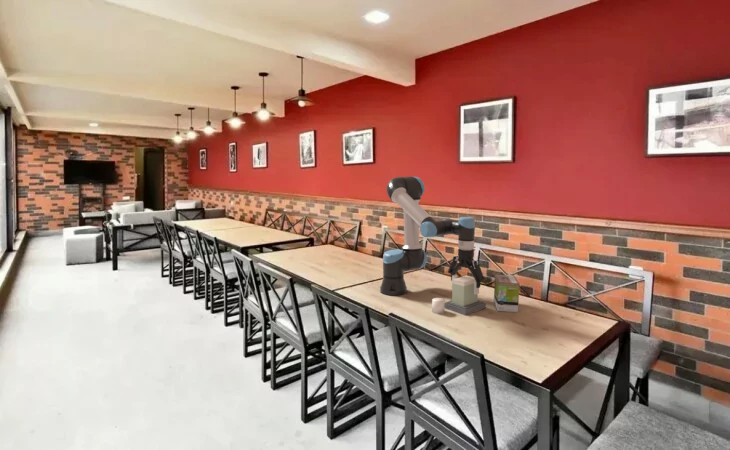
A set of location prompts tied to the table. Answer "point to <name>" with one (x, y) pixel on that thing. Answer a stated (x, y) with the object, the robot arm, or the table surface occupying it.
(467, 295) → the carton
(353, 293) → the table surface
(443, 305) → the cream rounded domed part
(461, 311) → the podium
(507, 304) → the tea box
